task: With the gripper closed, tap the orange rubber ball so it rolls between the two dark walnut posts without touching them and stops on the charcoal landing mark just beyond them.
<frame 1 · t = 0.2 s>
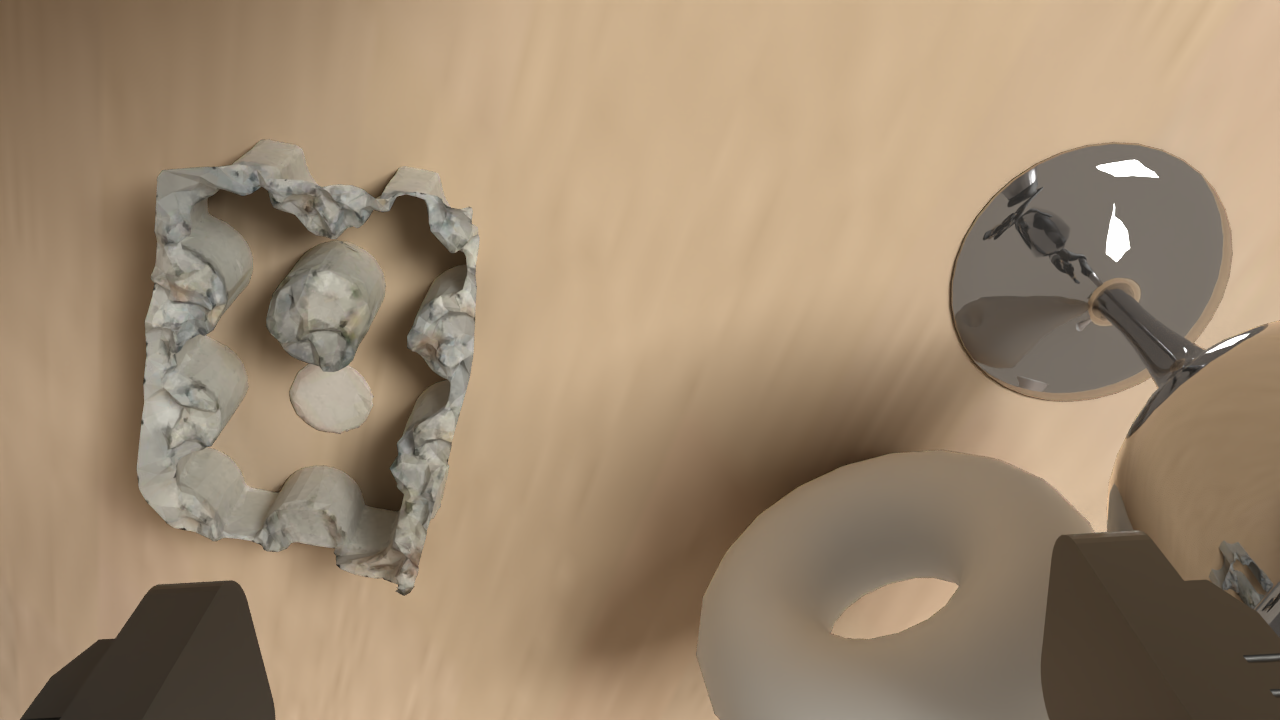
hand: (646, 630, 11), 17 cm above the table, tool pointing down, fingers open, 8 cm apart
egg carton: (334, 332, 29), on the table
donut: (853, 488, 31), on the table
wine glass: (1087, 276, 28), on the table
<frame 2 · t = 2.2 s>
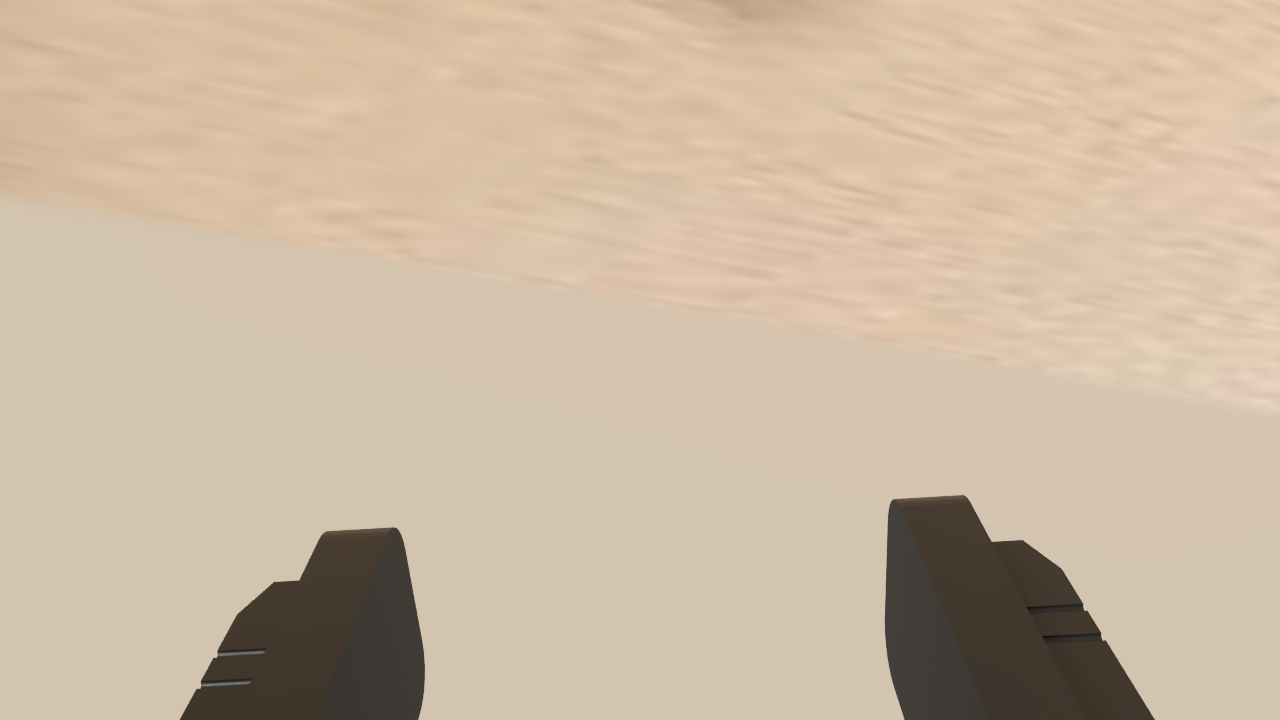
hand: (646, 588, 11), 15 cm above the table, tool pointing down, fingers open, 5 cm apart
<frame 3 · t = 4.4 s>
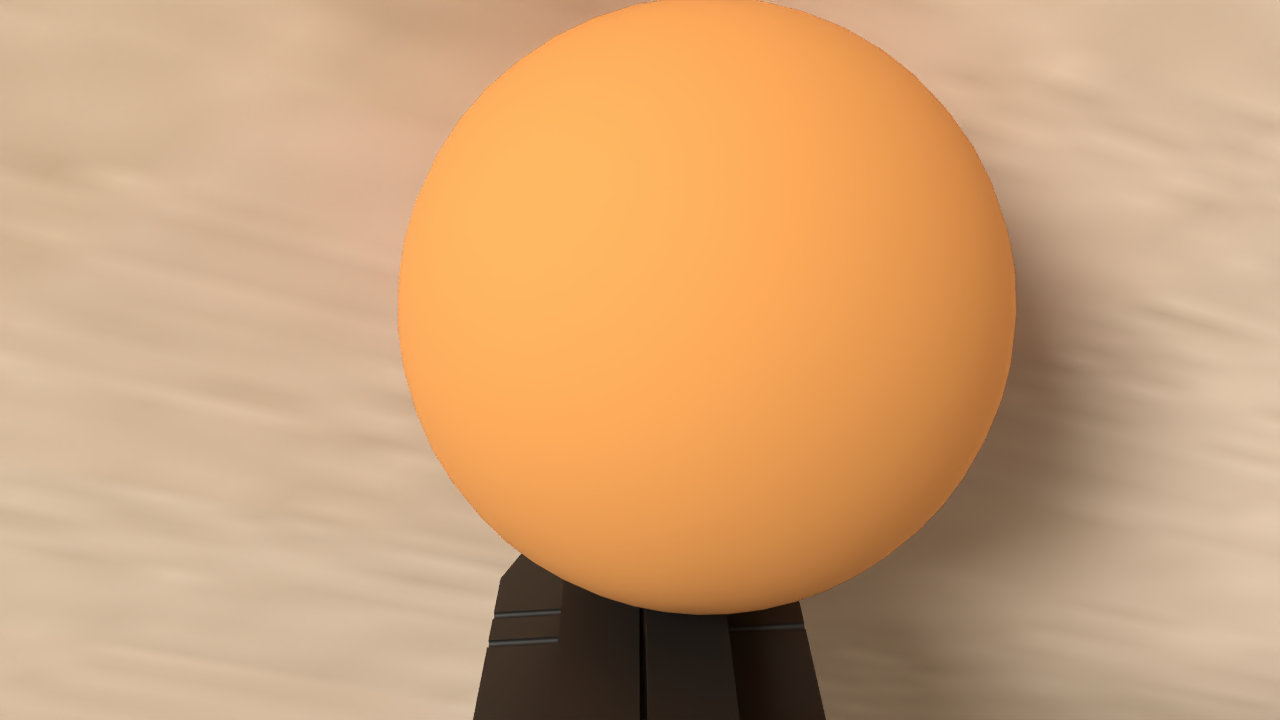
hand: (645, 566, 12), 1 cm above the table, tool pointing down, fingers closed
ball: (701, 309, 9), on the table, touching gripper
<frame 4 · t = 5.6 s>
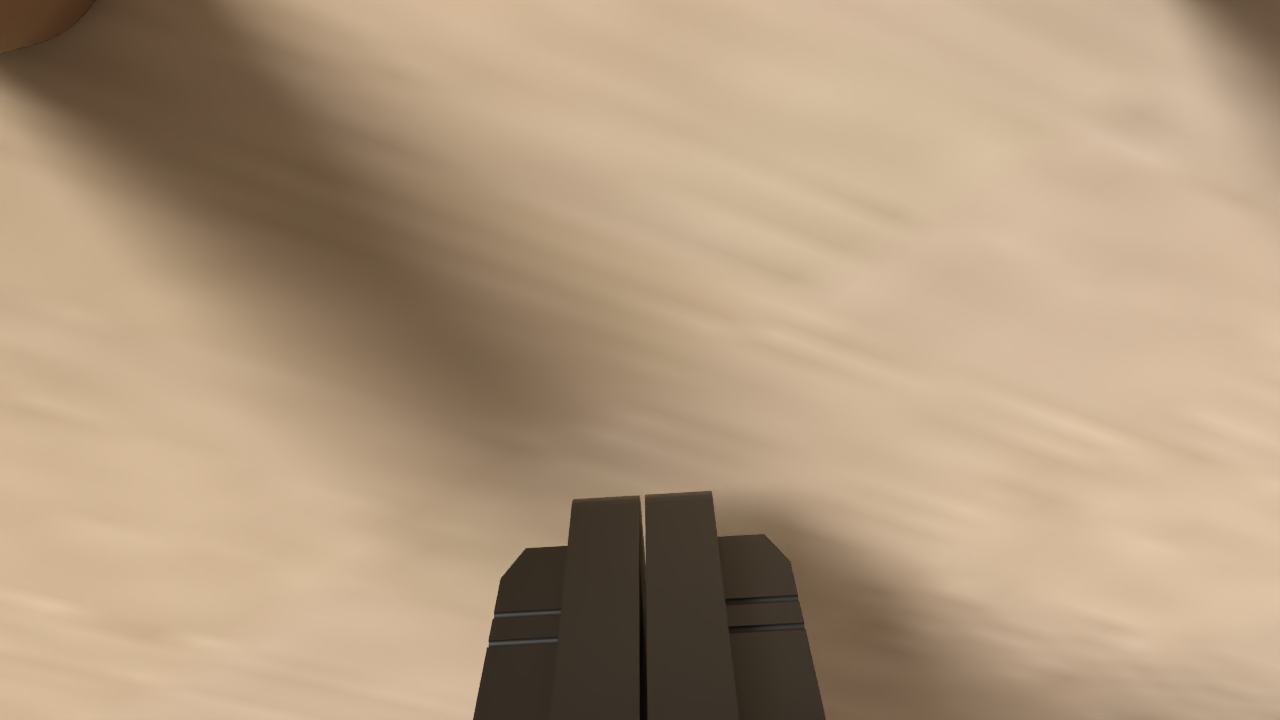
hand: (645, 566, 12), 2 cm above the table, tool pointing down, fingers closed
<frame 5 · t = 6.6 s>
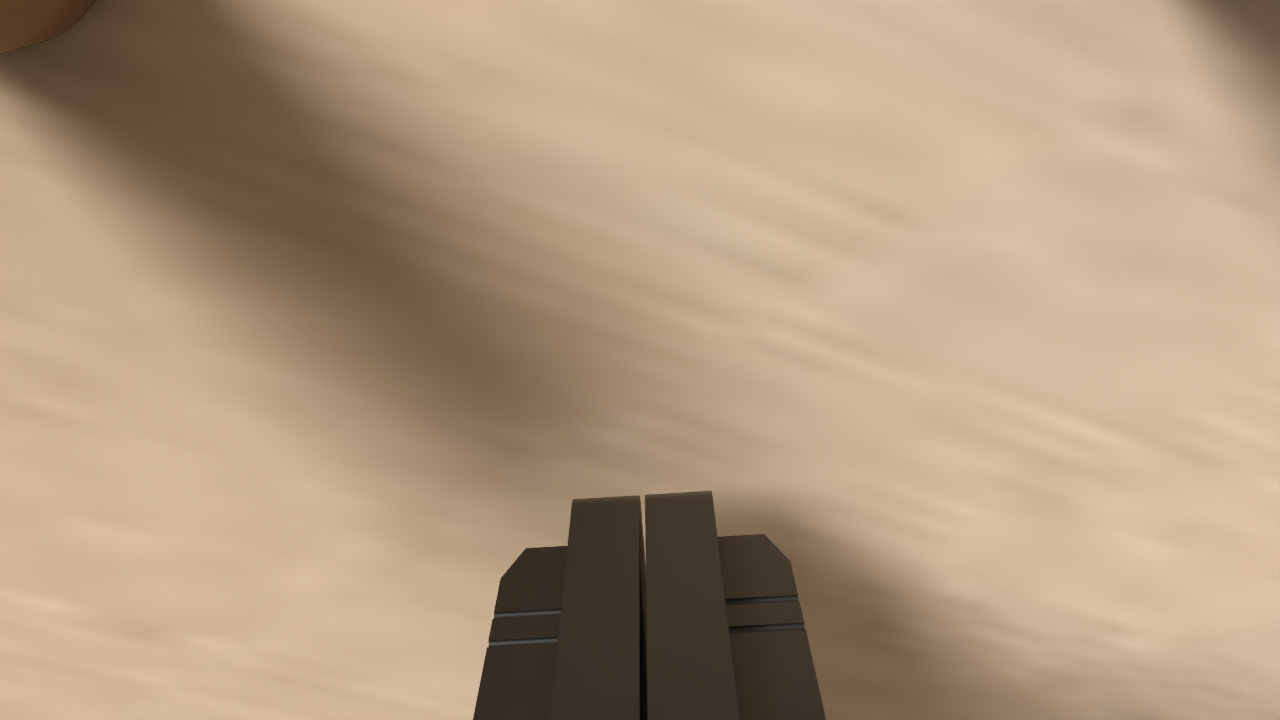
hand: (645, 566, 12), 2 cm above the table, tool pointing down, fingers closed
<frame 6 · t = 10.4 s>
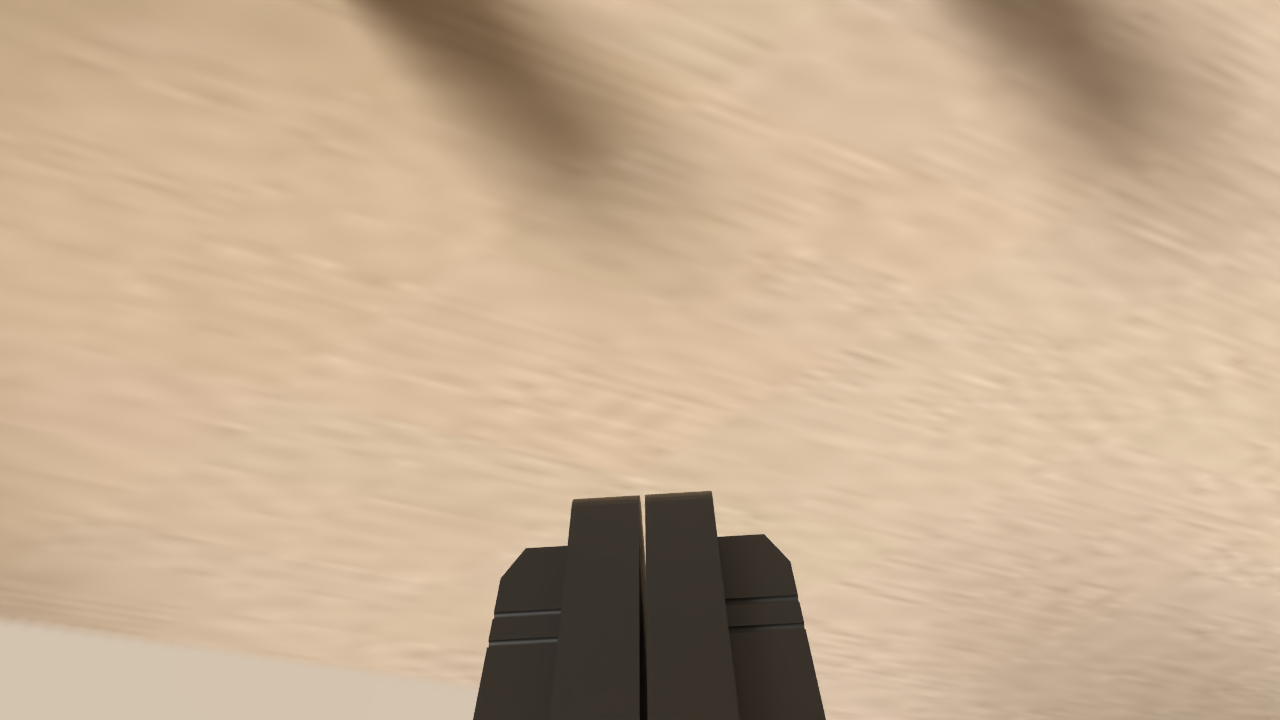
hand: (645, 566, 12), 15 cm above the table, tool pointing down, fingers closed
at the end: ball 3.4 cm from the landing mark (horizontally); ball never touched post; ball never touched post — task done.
